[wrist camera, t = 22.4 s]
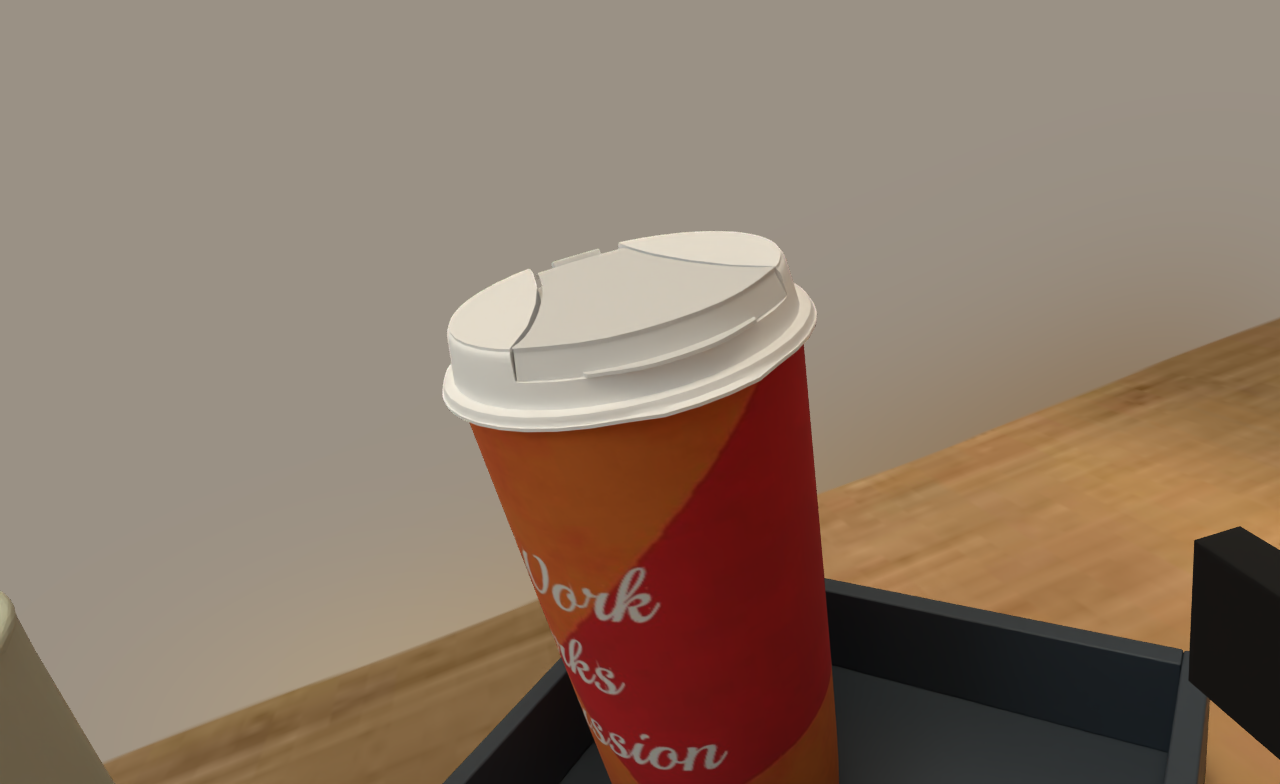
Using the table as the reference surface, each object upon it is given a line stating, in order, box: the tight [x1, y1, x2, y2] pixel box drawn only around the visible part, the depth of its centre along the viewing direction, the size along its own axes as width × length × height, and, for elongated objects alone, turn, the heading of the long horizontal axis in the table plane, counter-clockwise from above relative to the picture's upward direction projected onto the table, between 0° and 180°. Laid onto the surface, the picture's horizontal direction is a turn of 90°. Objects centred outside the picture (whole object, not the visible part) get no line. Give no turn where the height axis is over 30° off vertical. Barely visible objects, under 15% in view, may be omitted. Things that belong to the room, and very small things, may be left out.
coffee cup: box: [442, 231, 839, 784], centre depth 21 cm, size 8×8×15 cm
